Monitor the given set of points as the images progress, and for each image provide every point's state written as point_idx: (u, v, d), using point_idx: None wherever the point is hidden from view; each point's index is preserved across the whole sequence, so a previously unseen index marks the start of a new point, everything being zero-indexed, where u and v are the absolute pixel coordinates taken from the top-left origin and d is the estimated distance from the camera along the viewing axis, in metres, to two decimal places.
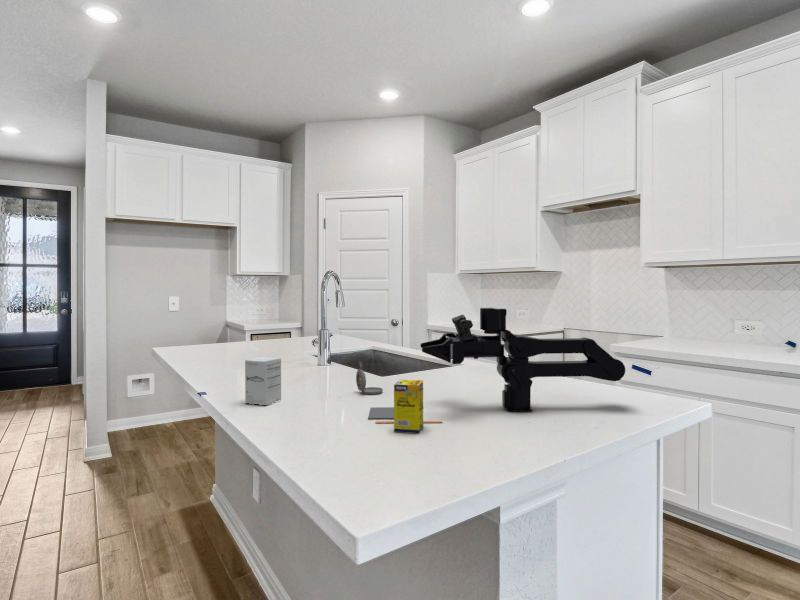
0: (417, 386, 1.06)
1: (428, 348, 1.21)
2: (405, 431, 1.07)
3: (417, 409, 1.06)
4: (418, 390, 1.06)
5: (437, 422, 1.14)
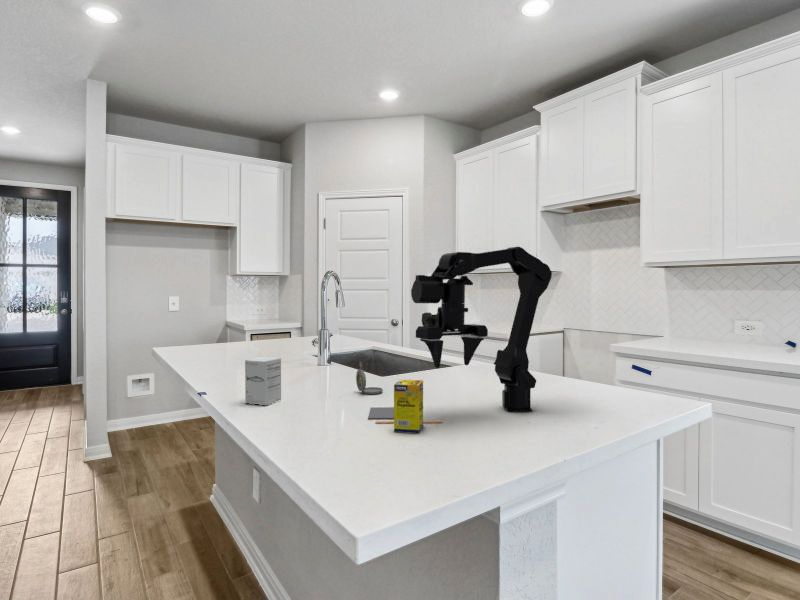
0: (417, 386, 1.06)
1: (434, 361, 1.15)
2: (405, 431, 1.07)
3: (417, 409, 1.06)
4: (418, 390, 1.06)
5: (437, 422, 1.14)
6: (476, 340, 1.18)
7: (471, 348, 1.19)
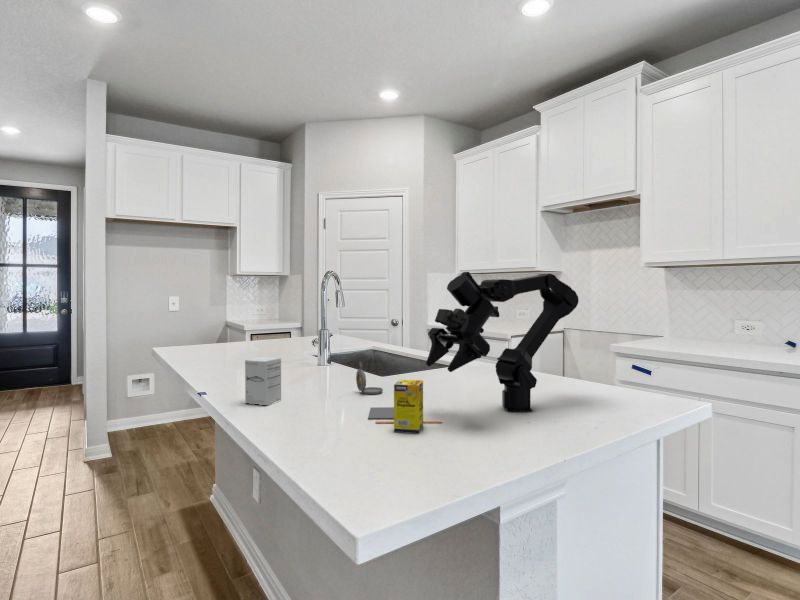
0: (417, 386, 1.06)
1: (453, 364, 1.09)
2: (405, 431, 1.07)
3: (417, 409, 1.06)
4: (418, 390, 1.06)
5: (437, 422, 1.14)
6: None
7: (441, 355, 1.19)
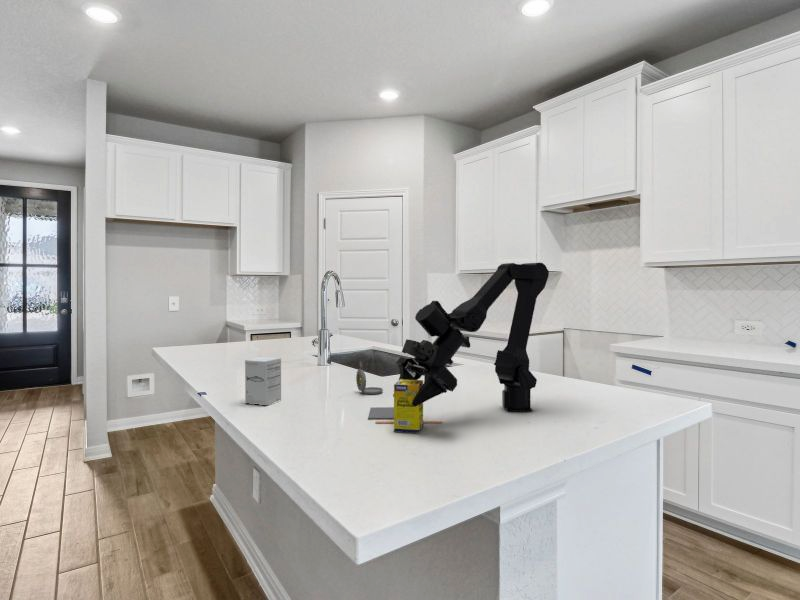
0: (417, 386, 1.06)
1: (417, 399, 1.05)
2: (405, 431, 1.07)
3: (417, 409, 1.06)
4: (418, 390, 1.06)
5: (437, 422, 1.14)
6: None
7: None
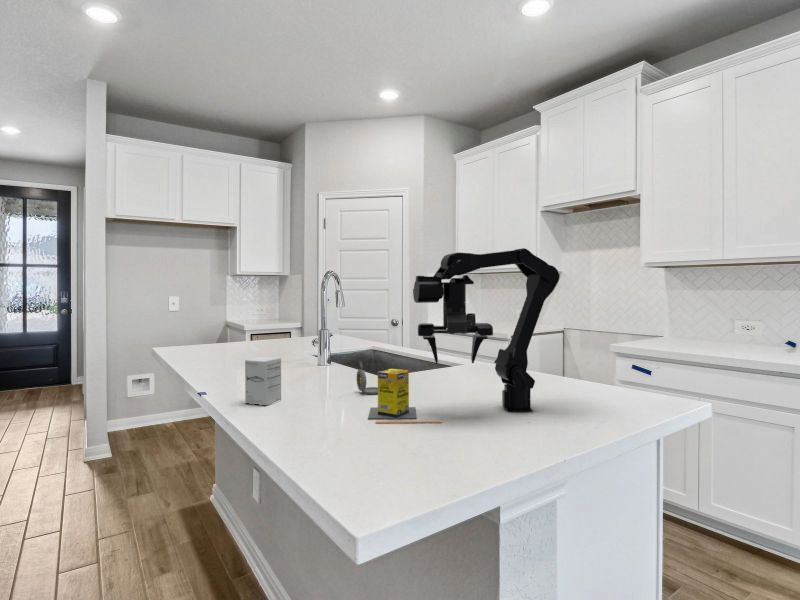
0: (395, 374, 1.17)
1: None
2: (386, 414, 1.19)
3: (395, 395, 1.17)
4: (396, 378, 1.17)
5: (437, 422, 1.14)
6: None
7: None
